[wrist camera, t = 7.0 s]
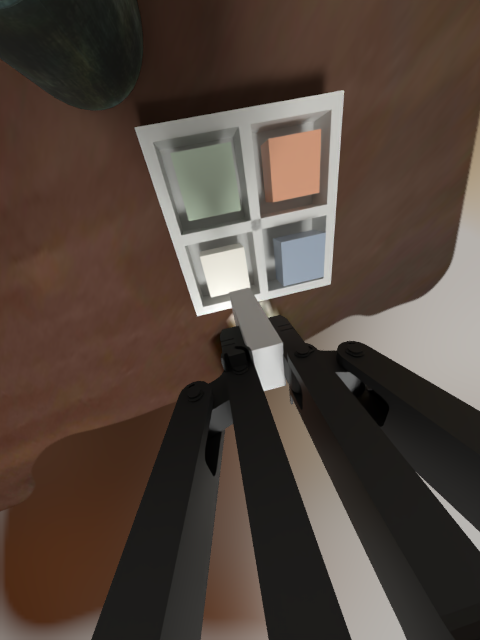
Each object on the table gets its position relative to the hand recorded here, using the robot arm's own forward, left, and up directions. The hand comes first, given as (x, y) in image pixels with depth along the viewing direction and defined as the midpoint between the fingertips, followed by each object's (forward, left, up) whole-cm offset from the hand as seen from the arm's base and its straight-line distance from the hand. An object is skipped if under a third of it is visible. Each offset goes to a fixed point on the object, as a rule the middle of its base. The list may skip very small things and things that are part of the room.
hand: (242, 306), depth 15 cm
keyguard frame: (+4, +4, -12) cm, 13 cm away
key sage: (0, +8, -10) cm, 13 cm away
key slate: (+8, 0, -10) cm, 13 cm away
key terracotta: (+8, +8, -11) cm, 16 cm away
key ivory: (0, 0, -11) cm, 11 cm away
